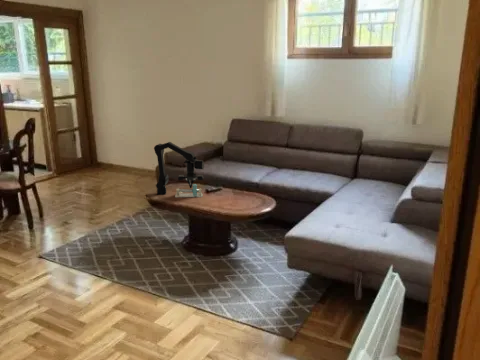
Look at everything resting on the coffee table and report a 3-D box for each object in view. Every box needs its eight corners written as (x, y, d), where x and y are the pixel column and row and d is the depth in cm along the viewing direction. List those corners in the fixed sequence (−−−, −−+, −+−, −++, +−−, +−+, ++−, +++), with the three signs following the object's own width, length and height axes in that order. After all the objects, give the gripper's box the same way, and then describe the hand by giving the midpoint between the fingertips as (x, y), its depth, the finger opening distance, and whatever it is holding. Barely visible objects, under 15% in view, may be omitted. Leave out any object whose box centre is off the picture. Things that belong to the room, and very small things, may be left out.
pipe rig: (175, 197, 319) (174, 190, 317) (175, 194, 326) (175, 187, 325) (202, 197, 320) (202, 190, 319) (202, 194, 328) (202, 187, 326)
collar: (192, 194, 321) (192, 186, 319) (193, 192, 325) (192, 184, 324) (196, 194, 321) (196, 186, 319) (196, 192, 326) (196, 184, 324)
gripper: (177, 171, 309) (177, 191, 313) (202, 171, 311) (202, 191, 315) (178, 167, 320) (179, 187, 324) (202, 167, 321) (202, 187, 325)
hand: (190, 188), depth 322 cm, fingers closed
